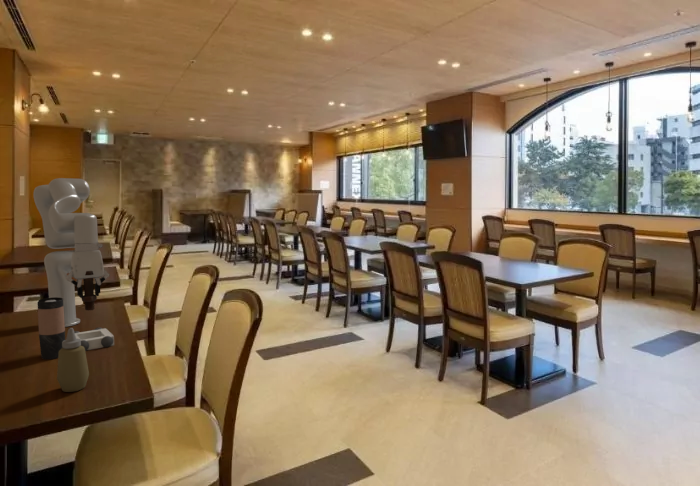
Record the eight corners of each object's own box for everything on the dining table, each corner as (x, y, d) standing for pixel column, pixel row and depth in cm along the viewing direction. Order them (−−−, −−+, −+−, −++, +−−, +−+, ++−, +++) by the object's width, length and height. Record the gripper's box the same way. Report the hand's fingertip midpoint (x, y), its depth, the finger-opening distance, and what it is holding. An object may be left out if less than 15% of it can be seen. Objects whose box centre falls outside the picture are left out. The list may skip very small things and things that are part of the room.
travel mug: (71, 353, 165) (68, 298, 163) (51, 361, 158) (48, 303, 156) (55, 351, 168) (52, 296, 166) (35, 358, 160) (31, 301, 158)
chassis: (67, 342, 177) (67, 332, 177) (105, 336, 185) (105, 326, 185) (75, 353, 166) (74, 342, 165) (115, 345, 174) (114, 335, 174)
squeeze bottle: (66, 383, 140) (63, 324, 138) (94, 382, 141) (91, 324, 139) (51, 394, 132) (48, 332, 130) (81, 394, 133) (78, 332, 131)
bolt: (89, 312, 171) (87, 271, 169) (78, 311, 172) (75, 271, 170) (101, 308, 176) (99, 269, 175) (89, 307, 177) (87, 268, 176)
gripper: (109, 245, 180) (111, 291, 182) (58, 248, 169) (61, 297, 171) (114, 247, 174) (116, 295, 176) (61, 250, 163) (64, 301, 165)
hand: (89, 295), depth 174 cm, fingers closed on bolt, 4 cm apart
